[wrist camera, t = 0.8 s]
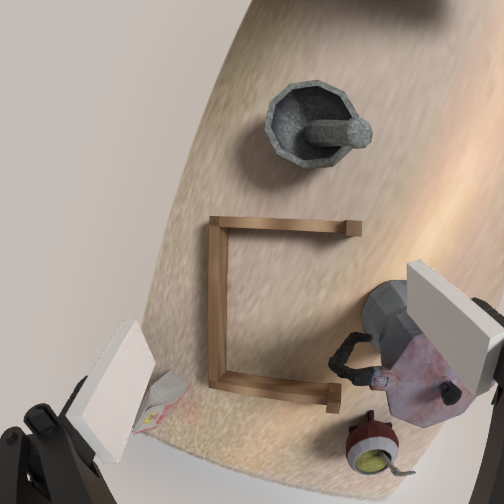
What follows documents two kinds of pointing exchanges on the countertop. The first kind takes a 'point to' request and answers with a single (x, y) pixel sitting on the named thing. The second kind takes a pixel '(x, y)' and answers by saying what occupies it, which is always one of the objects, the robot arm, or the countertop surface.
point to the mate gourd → (373, 448)
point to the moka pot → (403, 362)
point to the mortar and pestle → (314, 125)
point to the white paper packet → (160, 401)
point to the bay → (218, 315)
